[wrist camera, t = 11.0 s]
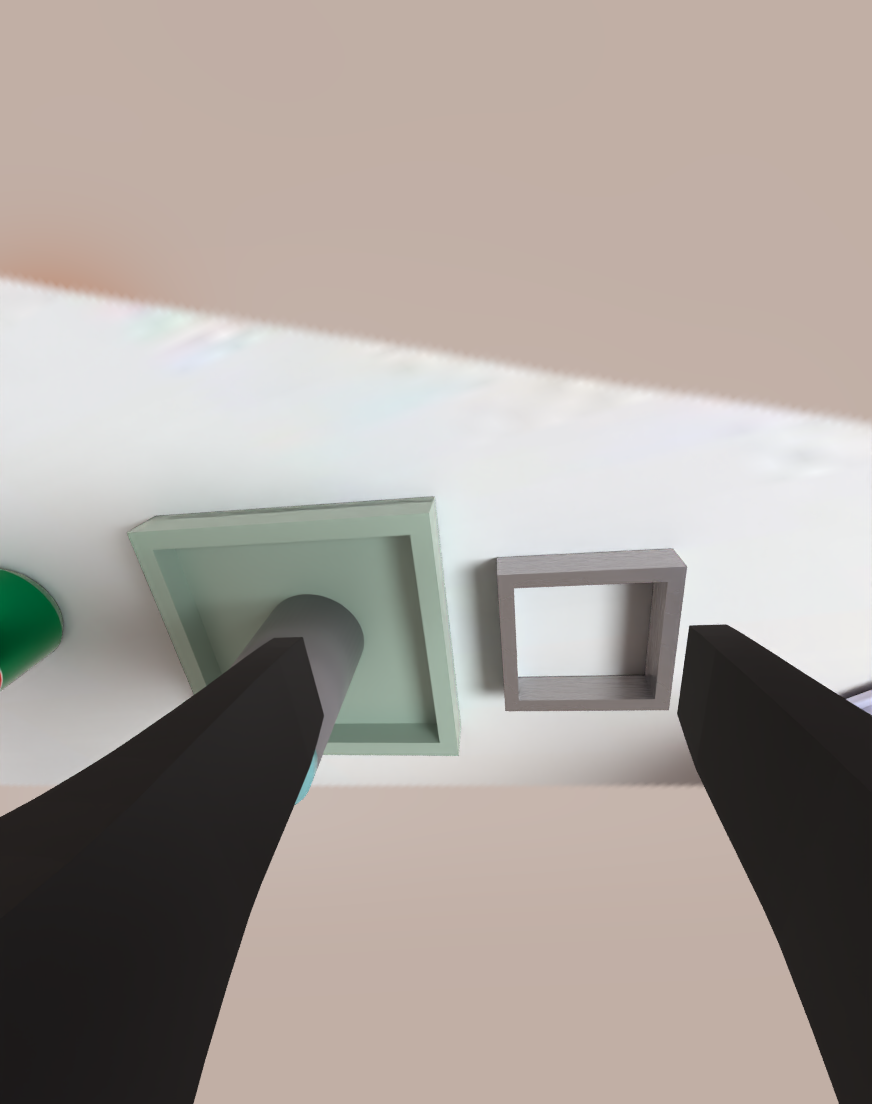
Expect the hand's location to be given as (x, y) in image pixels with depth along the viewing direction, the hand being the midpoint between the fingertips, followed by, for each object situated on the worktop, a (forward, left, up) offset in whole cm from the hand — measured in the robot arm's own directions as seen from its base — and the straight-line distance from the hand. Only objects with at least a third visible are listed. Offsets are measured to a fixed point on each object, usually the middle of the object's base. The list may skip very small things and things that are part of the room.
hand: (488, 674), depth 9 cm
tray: (-1, +10, -10) cm, 14 cm away
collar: (-7, 0, -10) cm, 13 cm away
